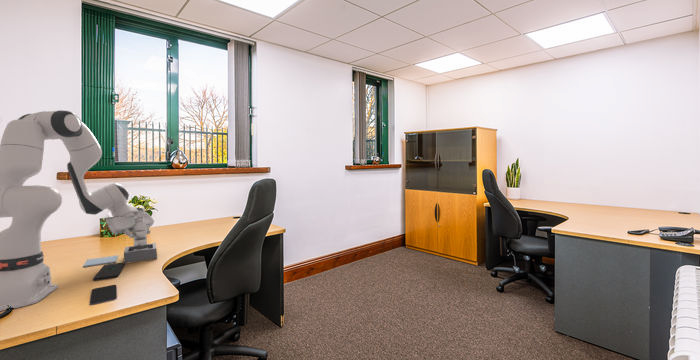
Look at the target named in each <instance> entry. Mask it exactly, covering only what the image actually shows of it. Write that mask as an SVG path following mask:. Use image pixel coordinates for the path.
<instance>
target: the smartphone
mask: <svg viewBox="0 0 700 360" xmlns="http://www.w3.org/2000/svg"><path fill="white" fill-rule="evenodd" d="M117 288H118V287H117V284H111V285H106V286H105V285H104V286H101V287H95V288H93V289H91V292H90V298H89V305H90V306H94V305H95V306H96V305H99V304H102V303H108V302H112V301H115V300H117V299H118V293H117V291H118V289H117Z"/></svg>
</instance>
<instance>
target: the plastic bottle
mask: <svg viewBox="0 0 700 360" xmlns="http://www.w3.org/2000/svg"><path fill="white" fill-rule="evenodd" d="M143 221H144V218H143V217H137V218H135V224H134V225H133V227H132V231H131V233H134V234H135V236H134V237H133V238H132V239H133V246H134V250H133V251H137V250H144V249H148V245H147V244H148V239H147V238H148V237H147V235H148V234H147V226H146V224H145V223H144V222H143Z"/></svg>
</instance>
